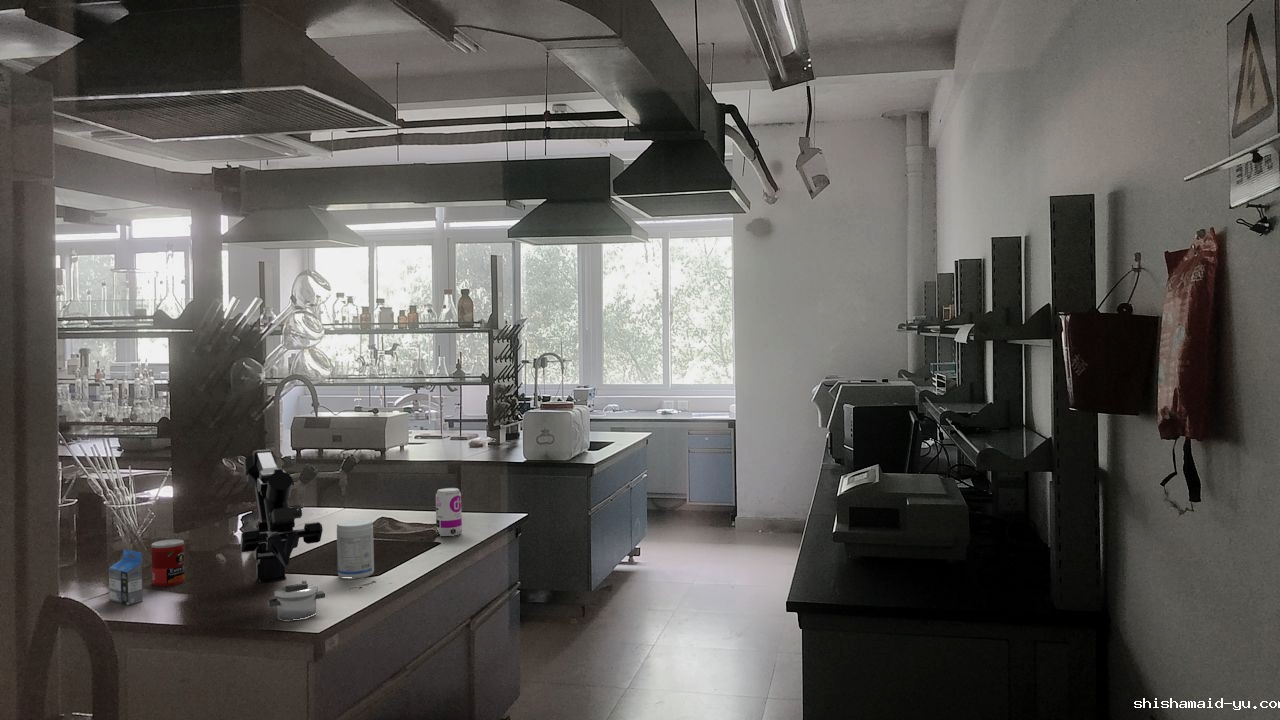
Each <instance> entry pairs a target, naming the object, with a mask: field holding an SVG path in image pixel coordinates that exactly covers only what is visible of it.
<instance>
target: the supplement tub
mask: <svg viewBox="0 0 1280 720" xmlns="http://www.w3.org/2000/svg"><path fill="white" fill-rule="evenodd" d="M374 549H375V548H374V525H373V520H371V519H369V518H368V519H367V518H354V519H346V520H342V521H341V520H340V521H339V522H337V523H336V551H337V552H336V553H337V555H336V556H337V575H338V577H339V578H340V577H352V578H359V579H363V578H367V577H370V576H372V575H373V573H374V572H375V559H374V558H375V553H374V552H375V551H374ZM343 580H349V579H348V578H346V579H345V578H344V579H343Z"/></svg>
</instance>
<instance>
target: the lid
mask: <svg viewBox="0 0 1280 720" xmlns="http://www.w3.org/2000/svg"><path fill="white" fill-rule="evenodd" d="M317 592H319V586H318V585H317V584H313V583H312V584H311V583H307V580H302V581H301V583H296V584H291V585H290V584H289V585H284V586H282V587H279V588H278V589H276V590H275V591H274V598H280V599H294V598H301V597H306V596H310V595H313V594H315V593H317Z"/></svg>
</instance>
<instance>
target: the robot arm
mask: <svg viewBox="0 0 1280 720" xmlns="http://www.w3.org/2000/svg"><path fill="white" fill-rule="evenodd" d="M277 461H278V459H277V456H276V454H274V451H273V449H257V450H254V451H253V453H252V454H251V455H249V456H247V457H246V458H244V461H243V462H244V463H243V476H246V481H247V484H248V485H250V486H251V487H252V488H253V489H254V492H255V499H256V506H257V510H258V511H257V512H258V517H259V523H258V526H257V529H249V530H243V532H241V536H240V551H241V552H242V553H249V552H253V558H254V559H255V560H254V561H257V562H256V563H255V572H256V573H255V574H256V575H255V576H256V577H255V578H256V579H257V580H258V581H259V582H260V583H261V584H262V583H264V584H265V583H269V582H275V581H282V580H284V581H285V580H287V576H286V567H289V563H290V559H291V555H292V552H293V550H294V549H296V548H298V546H299V539H300V538H302V540H303V542H304V543H305V544H306V545H309V544H310V545H311V544H315V543H319V542H321V540H322V535H323V525H322V523H321V522H320V521H317V522H307V523H304V527H303V528H301V529H294V528H295V525H296V523H295V522H296V521H295V520H296V519H301V518H302V516H303V510H302V504H293V505H292V507H291V506H290V501H289V499H290V497H291V493H292V488H293V486H294V485H295V483H294V482H295V480H293V477H292V476H291V475H290V474H289V473H287V472H286V471H285V470H284V469H283V468H278V462H277Z"/></svg>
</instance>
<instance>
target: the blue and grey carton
mask: <svg viewBox="0 0 1280 720" xmlns="http://www.w3.org/2000/svg"><path fill="white" fill-rule="evenodd" d="M122 551H123V552H122V559H120V560H119V561H118V562H115V563H114V564H113V565H112V566H110V567H108V583H109V585H108V587H109V601H110V602H111V601H112V602H116V603H120V604H123V605H127V606H131V605H135V604H138V602H139V603H142V602H143V575H142V573H143V571H142V565H143V564H142V561H143V560H142V559H143V557H142V554H143V552H141V551H136V550H130V549H126V548H123V549H122ZM131 556H134V557H131Z"/></svg>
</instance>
